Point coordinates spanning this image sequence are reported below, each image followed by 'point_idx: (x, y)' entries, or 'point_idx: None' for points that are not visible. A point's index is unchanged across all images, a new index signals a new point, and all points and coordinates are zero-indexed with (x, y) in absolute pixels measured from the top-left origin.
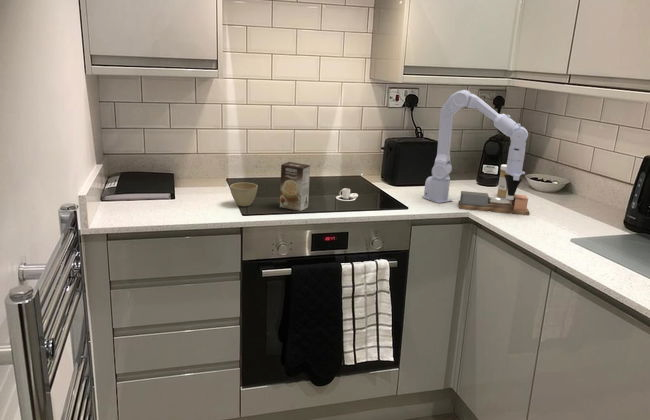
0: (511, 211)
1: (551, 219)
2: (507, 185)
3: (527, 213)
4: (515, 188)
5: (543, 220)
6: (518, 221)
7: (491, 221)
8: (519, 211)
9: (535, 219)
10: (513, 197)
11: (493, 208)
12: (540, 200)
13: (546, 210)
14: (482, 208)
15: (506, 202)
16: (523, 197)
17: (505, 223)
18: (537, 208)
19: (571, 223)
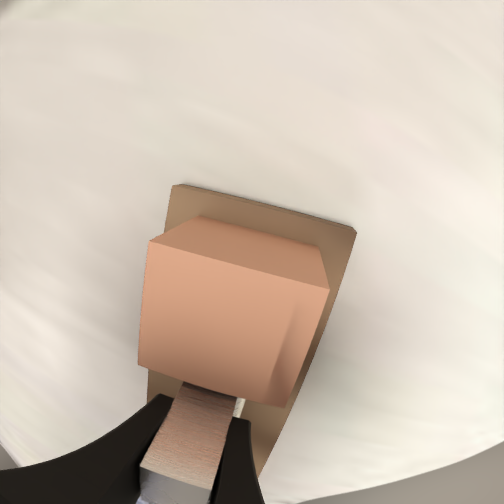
0: (310, 358)
1: (439, 95)
2: (136, 497)
3: (350, 245)
4: (247, 491)
5: (466, 175)
6: (463, 359)
7: (425, 463)
8: (329, 310)
9: (447, 226)
10: (236, 399)
11: (263, 441)
12: (9, 34)
13: (193, 22)
14: (257, 474)
15: (242, 407)
16: (270, 325)
17: (467, 422)
18: (144, 73)
19: (489, 23)
